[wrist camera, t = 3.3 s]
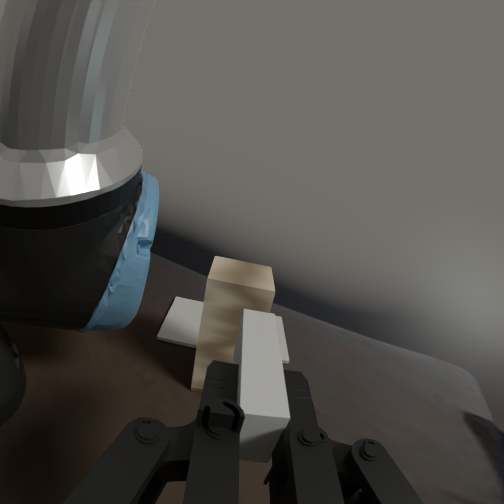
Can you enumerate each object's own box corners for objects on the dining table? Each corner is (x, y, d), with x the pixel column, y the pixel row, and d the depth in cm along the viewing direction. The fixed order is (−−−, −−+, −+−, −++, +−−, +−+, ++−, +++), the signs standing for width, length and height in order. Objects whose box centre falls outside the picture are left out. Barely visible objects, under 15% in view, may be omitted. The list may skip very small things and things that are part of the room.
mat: (156, 339, 37) (156, 336, 37) (175, 299, 48) (176, 296, 48) (288, 363, 38) (289, 360, 38) (280, 319, 50) (281, 317, 49)
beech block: (190, 390, 30) (207, 278, 25) (198, 358, 35) (215, 255, 31) (244, 400, 30) (275, 291, 26) (244, 366, 36) (271, 266, 32)
